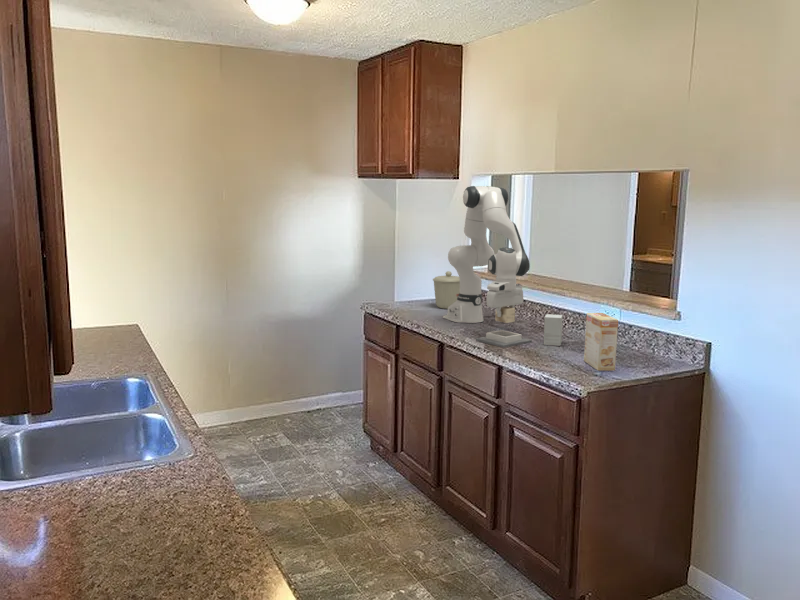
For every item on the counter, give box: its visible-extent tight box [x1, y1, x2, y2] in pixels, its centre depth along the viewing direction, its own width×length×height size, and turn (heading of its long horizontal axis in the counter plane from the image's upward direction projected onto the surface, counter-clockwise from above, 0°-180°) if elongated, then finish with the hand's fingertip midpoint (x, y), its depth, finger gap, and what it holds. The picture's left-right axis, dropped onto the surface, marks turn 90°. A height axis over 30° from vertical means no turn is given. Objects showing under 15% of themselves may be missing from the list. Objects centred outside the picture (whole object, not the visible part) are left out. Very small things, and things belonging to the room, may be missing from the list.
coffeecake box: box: [583, 312, 619, 372], centre depth 252 cm, size 15×7×20 cm, turn 5°
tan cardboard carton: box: [494, 306, 516, 324], centre depth 292 cm, size 7×5×6 cm
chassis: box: [475, 329, 533, 348], centre depth 294 cm, size 17×18×4 cm
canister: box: [432, 270, 460, 310], centre depth 378 cm, size 18×18×21 cm
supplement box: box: [543, 313, 563, 347], centre depth 289 cm, size 7×7×13 cm
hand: (504, 315), depth 292 cm, fingers closed on tan cardboard carton, 5 cm apart
